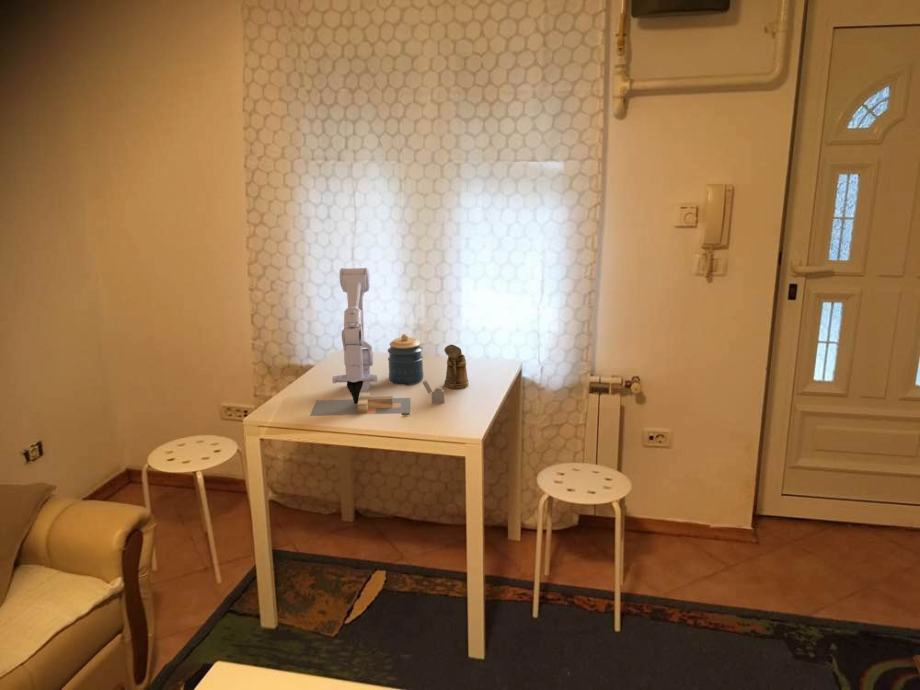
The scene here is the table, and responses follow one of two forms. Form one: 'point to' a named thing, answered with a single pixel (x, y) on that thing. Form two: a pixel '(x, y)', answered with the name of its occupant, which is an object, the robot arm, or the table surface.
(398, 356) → the canister
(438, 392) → the lighter
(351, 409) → the slate board
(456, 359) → the bronze figurine
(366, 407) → the t block
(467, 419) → the table surface
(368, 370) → the robot arm
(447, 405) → the table surface
